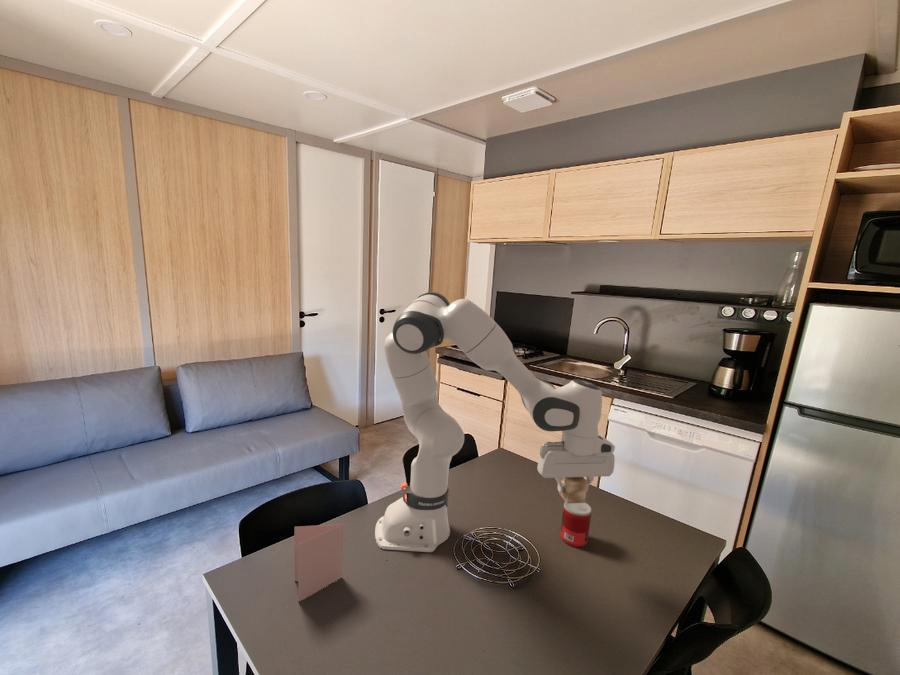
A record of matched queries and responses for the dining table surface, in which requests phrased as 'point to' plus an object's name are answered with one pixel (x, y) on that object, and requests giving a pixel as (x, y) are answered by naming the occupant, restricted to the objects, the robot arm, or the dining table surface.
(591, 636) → the dining table surface
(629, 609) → the dining table surface
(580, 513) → the canned food
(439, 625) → the dining table surface
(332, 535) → the greeting card
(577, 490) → the oak block
